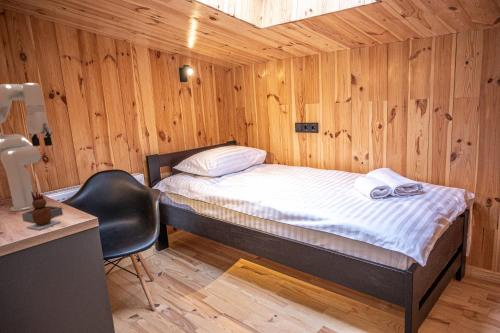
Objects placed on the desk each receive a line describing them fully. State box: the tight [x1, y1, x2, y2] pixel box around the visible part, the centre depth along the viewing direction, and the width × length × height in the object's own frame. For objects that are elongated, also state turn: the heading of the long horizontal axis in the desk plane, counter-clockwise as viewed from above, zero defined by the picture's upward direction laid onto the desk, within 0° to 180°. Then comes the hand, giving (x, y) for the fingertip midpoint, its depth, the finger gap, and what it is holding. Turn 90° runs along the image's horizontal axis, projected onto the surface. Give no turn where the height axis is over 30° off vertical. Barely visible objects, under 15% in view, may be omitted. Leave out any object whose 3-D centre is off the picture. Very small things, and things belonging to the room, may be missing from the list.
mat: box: [26, 219, 62, 231], centre depth 138 cm, size 9×9×1 cm
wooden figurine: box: [31, 191, 52, 225], centre depth 137 cm, size 7×6×15 cm
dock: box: [21, 205, 64, 224], centre depth 149 cm, size 11×12×4 cm
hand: (42, 145), depth 156 cm, fingers open, 9 cm apart
